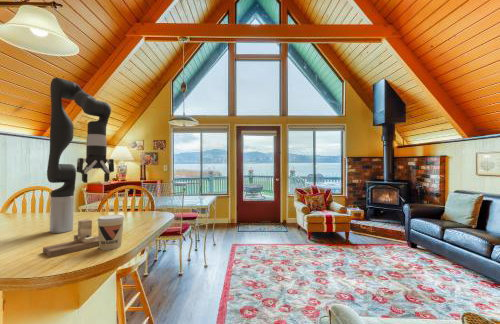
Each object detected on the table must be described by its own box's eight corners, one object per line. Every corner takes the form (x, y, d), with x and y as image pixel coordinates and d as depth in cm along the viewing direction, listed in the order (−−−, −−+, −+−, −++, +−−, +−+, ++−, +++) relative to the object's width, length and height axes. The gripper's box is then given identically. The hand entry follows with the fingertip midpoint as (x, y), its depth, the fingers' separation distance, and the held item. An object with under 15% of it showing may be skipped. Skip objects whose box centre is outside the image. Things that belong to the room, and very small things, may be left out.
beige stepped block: (73, 243, 101) (74, 220, 101) (86, 240, 105) (87, 218, 105) (83, 247, 95) (84, 223, 96) (96, 244, 99) (97, 220, 100)
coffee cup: (94, 251, 92) (95, 219, 93) (99, 244, 101) (99, 215, 101) (122, 248, 96) (123, 218, 96) (124, 242, 105) (125, 213, 105)
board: (42, 252, 91) (43, 247, 91) (100, 239, 107) (100, 235, 107) (50, 257, 86) (50, 251, 86) (109, 243, 103) (109, 238, 103)
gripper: (108, 147, 115) (108, 181, 115) (74, 144, 104) (73, 182, 103) (117, 146, 111) (116, 181, 111) (82, 143, 99) (81, 183, 99)
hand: (96, 182), depth 107 cm, fingers open, 8 cm apart
